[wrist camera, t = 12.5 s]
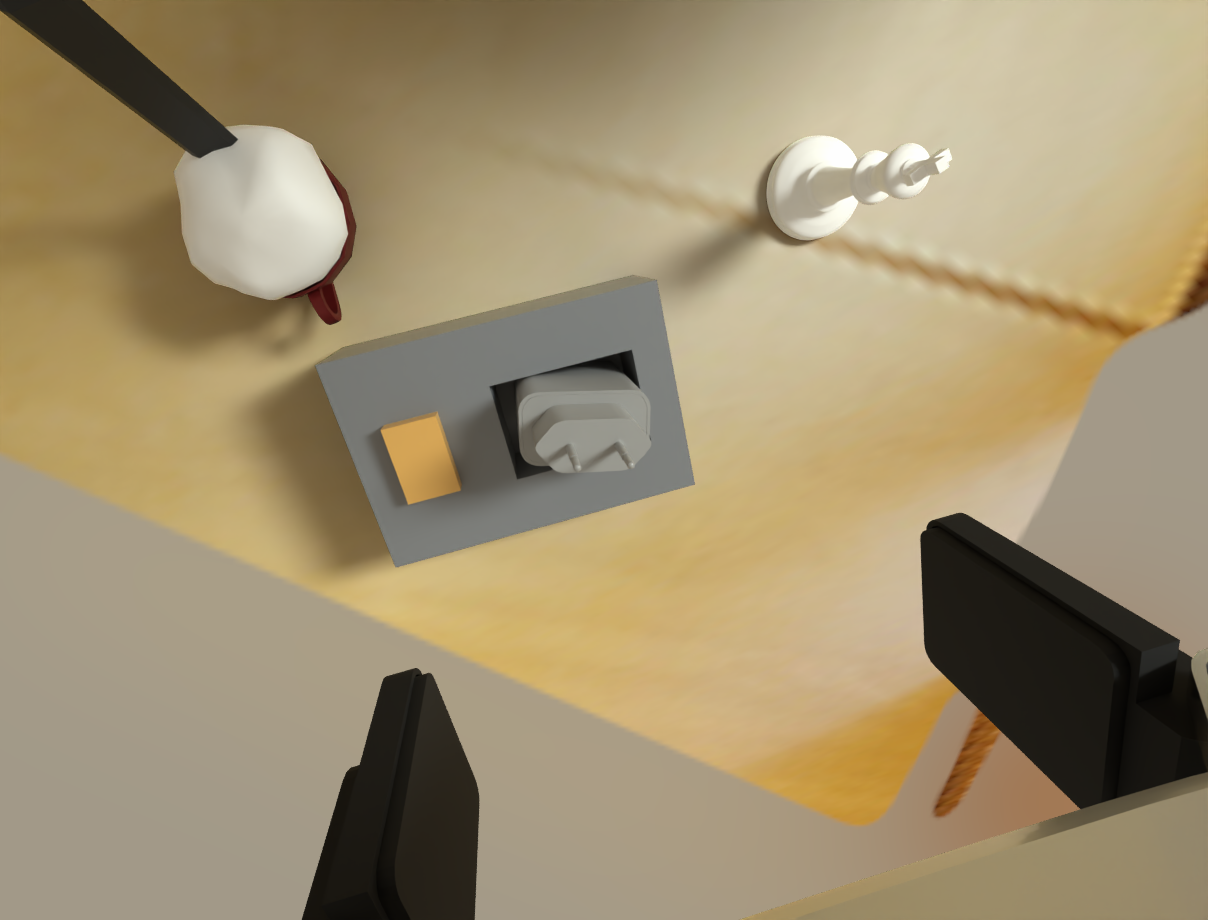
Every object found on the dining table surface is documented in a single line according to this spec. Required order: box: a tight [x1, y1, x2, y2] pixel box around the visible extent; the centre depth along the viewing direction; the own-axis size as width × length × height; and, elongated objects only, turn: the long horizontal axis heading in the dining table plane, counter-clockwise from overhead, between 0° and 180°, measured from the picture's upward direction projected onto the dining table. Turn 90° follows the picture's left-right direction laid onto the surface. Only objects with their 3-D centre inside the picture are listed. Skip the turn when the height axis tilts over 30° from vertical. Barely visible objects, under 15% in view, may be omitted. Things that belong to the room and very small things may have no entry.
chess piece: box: [766, 136, 952, 240], centre depth 27 cm, size 5×5×10 cm
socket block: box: [315, 275, 695, 567], centre depth 30 cm, size 15×10×6 cm, turn 103°
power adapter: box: [514, 360, 651, 473], centre depth 26 cm, size 3×5×12 cm, turn 90°
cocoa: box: [0, 0, 356, 325], centre depth 23 cm, size 10×6×12 cm
